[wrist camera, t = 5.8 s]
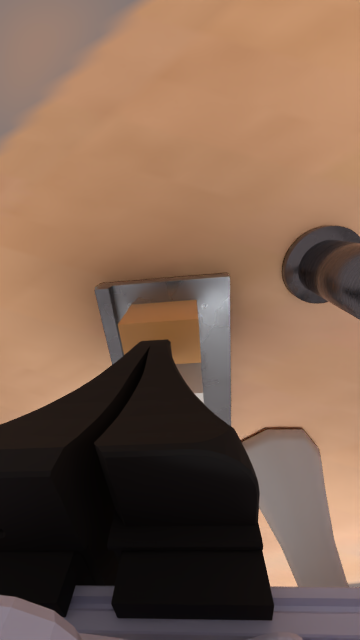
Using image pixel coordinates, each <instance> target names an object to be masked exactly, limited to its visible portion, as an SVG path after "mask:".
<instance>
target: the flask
mask: <svg viewBox="0 0 360 640" xmlns="http://www.w3.org/2000/svg"><path fill="white" fill-rule="evenodd" d="M242 444H243V446H244V448H245V450H246V452H247V454H248V456H249V459H250V461H251V463H252V466H253V468H254V471H255V473H256V476H257V480H258V484H259V491H260V497H259V508H260V510H261V512H262V513H263V515H264V517H265V519H266V521H267V522H268V524H269V526H270V528H271V530H272V531H273V533H274V535H275V537H276V539H277V540H278V542H279V544H280V546H281V548H282V550H283V552H284V554H285V557H286V559H287V561H288V564H289V566H290V568H291V571H292V573H293V575H294V578H295V580H296V583H297V585H298V587H349V586H348V583H347V581H346V577H345V574H344V571H343V568H342V564H341V561H340V558H339V554H338V551H337V548H336V544H335V541H334V536H333V531H332V525H331V519H330V514H329V508H328V503H327V497H326V491H325V484H324V477H323V470H322V462H321V456H320V451H319V448H318V447H317V446H316V445H315V444H314V442H313V441H312V440H311V439H310V438H309V436H308V435H307V434H306V433H305V431H304V430H303V429H267V430H265V431H263V432H261V433H259V434H257V435H255V436H253V437H251V438H249V439H247V440H245V441H243V442H242Z"/></svg>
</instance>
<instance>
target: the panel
mask: <svg viewBox="0 0 360 640" xmlns="http://www.w3.org/2000/svg"><path fill="white" fill-rule="evenodd" d="M95 294H96V298H97V302H98V307H99V311H100V315H101V319H102V323H103V328H104V332H105V336H106V340H107V344H108V349H109V353H110V357H111V361H112V365H113V364H114V363H115V362H117V361H118V360H119V359H120V358H121V357H123V356H124V352H123V347H122V342H121V338H120V333H119V328H118V323H119V322H120V320H121V319H122V318H123V316H124V315H125V313H126V312H127V310H128V309H129V307H130V306H131V305H132V304H145V303H159V302H172V301H185V300H197V310H198V320H199V336H200V351H201V373H202V385H203V398H204V404H205V406H207V407H208V408H209V409H210V410H211V411H212V412H213V413H214V414H215V415H217V416H218V417H219V418H220V419H222V420H223V421H224V422H226V423H227V424H228V425H230V426H231V365H230V276H229V275H228V273H219V274H207V275H195V276H182V277H170V278H158V279H145V280H133V281H121V282H109V283H100V284H99V285H97V286H96V287H95ZM187 364H190V363H187Z"/></svg>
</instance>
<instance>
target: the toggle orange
mask: <svg viewBox="0 0 360 640" xmlns="http://www.w3.org/2000/svg"><path fill="white" fill-rule="evenodd" d="M118 328H119V333H120V338H121V342H122V347H123V352H124V355H125V354H126V353H127V352H128V351H130V350H131V349H132V348H133V347H134V346H135V345H137V344H138V343H139V342H140V341H149V340H165V339H168V340H169V341H170V342H171V350H172V357H173V360H174V362H175V364H187V363H201V351H200V336H199V320H198V310H197V300H185V301H172V302H159V303H145V304H132V305H131V306H130V307H129V309H128V310H127V312H126V313H125V315H124V316H123V318H122V319H121V320H120V322H119V323H118Z"/></svg>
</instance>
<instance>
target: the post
mask: <svg viewBox="0 0 360 640" xmlns="http://www.w3.org/2000/svg"><path fill="white" fill-rule="evenodd" d="M282 276H283V280H284V283H285V285H286V287H287V289H288V290H289V291H290V292H291V293H292V294H293V295H295V296H296V297H298V298H299V299H301V300H303V301H305V302H309V303H325V302H330V303H332V304H334V305H336V306H337V307H339V308H341V309H342V310H344V311H346V312H348V313H349V314H351V315H353V316H354V317H356V318H358V319H360V237H359V236H358V235H357V234H356V233H355V232H354V231H352V230H350V229H348V228H345V227H340V226H322V227H318V228H314V229H312V230H310V231H308V232H306V233H304V234H303V235H302V236H300V237H299V238H298V239H297V240H296V241H295V242H294V243H293V244H292V245H291V247H290V248H289V250H288V252H287V253H286V256H285V258H284V261H283V266H282Z"/></svg>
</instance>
